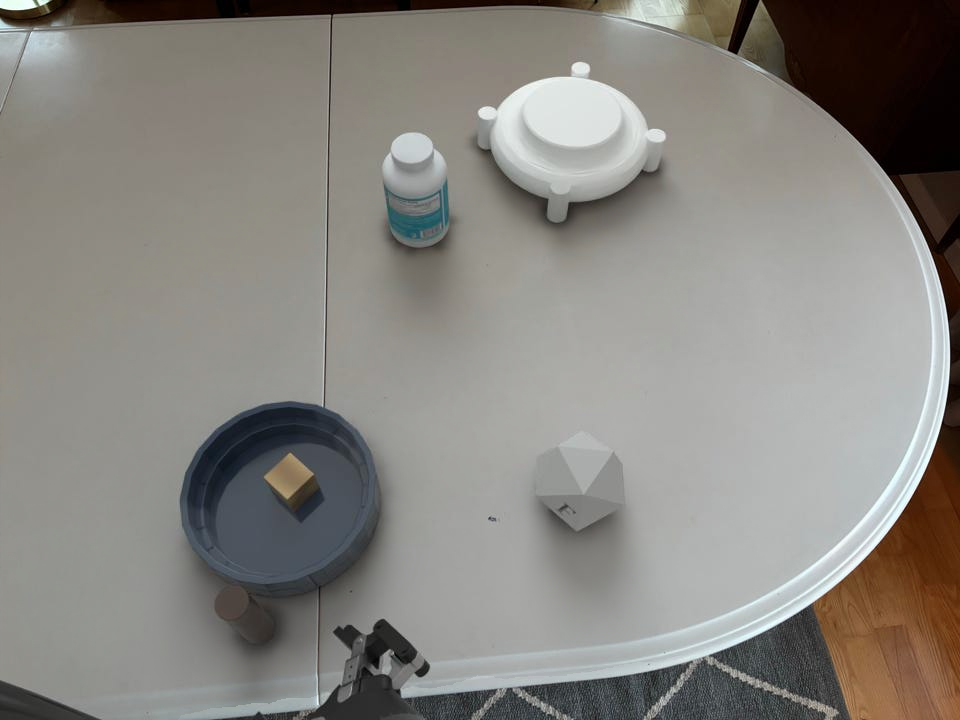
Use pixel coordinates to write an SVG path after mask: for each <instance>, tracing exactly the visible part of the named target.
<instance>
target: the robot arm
mask: <svg viewBox="0 0 960 720" xmlns="http://www.w3.org/2000/svg"><path fill="white" fill-rule="evenodd" d="M332 633H333V635H334V636H335V637H336V638H337V639H338V640H340V641H341V643H342V644H343V645H344V646H345V647H346V648H347V649H348V650H349V651H350V652H351V653H350V654H351V655H350V658H348V659H346V660H345V663H344V669H343V676H342V681H341V684H340V683H339V684H338V685H337V686H336V687H335V688H334V689H333V690H332V692H331V693H330V694H329V696H328V697H327V699H326V700H325V701H324V703H322V704H321V705H320V706H318V707H317V709H315V711H313V713H312V714H311V715H310V716H309V717H308V720H428V719H427V718H425V717H424V716H423V714H421V713H420V712H419V711H417V709H415V708H414V707H413V706H412V705H411V704H410V703H409V702H408V701H406V700H405V699H404V698H403V697H402V691H401V688H402V687H403V686H404V685H405V684H406V683H407V681H409V680H410V678H411V677H413V675H415V676H416V677H417V678H423V677H425V676H427V674H428V673H429V672H430V669H431V664H430V663H429V662H428V661H427V660H426V659H425V657H424V656H423V655H422V654H421V653H420V652H419V651H418V650H417V649H416V647H415V646H413V645H414V644H412V643H411V642H410V641H409V640H408V639H407V638H406V637H405V636H404V635H402V634H401V633H400V632H399V631H398V630H397V629H396V628H395V627H394V626H393V625H392V624H390V623H389V621H388V620H386V619H385V618H381V619H379V620H377V621H376V622H375V623H374V625H373V627H372V632H370V633H368V634H365V633H363V632H361V631H360V630H358V629H357V628H356V627H355V626H354V625H352V624H346V626H345V627H344V628H342V627H341V625H337V627H336V628H335V629H334V630H333V631H332ZM389 650H390V651H389ZM388 651H389V652H388ZM387 652H388V656H389V658H390V662H389V665H390V667H391V669H390V671H389V673H388V674H386V673H383V666H384V658H385V656H384V654H386V653H387ZM251 719H252V720H269V719H268V718H267V717H266V716H265V715H264V714H263V713H262V712H261V711H259V710H258V711H257V712H256V713H255V714H254V715H253V717H252V718H251ZM0 720H102V719H100V718H99V717H96V716H93V715H91V714H89V713H87V712H84V711H82V710H79V709H77V708H74V707H72V706H69V705H67V704H64V703H62V702H59V701H58V700H55V699H52V698H49V697H47V696H44V695H42V694H40V693H37V692H35V691H32V690H29V689H26V688H23V687H21V686H17V685H15V684H12V683H10V682H6V681H4V680H1V679H0Z"/></svg>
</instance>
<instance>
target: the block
mask: <svg viewBox="0 0 960 720" xmlns="http://www.w3.org/2000/svg"><path fill="white" fill-rule="evenodd" d="M263 478H264V479H265V481H266V483H267V484H268V486H269V488H270V489H271V491H272V492H273V493H274V494H275V495H276V496H278V497H279V498H280V499H281V500H282V501H283V502H284V503H285V504H286V505H287V506H288V507H289V508H290V509H291V510H292V511H294V512H295V511H296V510H297V509H298V508H299V507H300V506H301V505H302V504H303V503H304V502H305V501H306V500H307V499H308V498H309V497H310V496H311V495H312V494H314V493H315V492H316V491H317V490H318V489H319V488H320V486H319V484H318V482H317V480H316V478H315V475H314V474H313V473H312V472H311V471H310V470H309V469H308V468H307V467H306V466H304V465H303V464H302V463H301V462H300V461H299V460H298V459H297V458H296V457H295V456H293V455H292V454H291V453H289V454H288V455H287V456H286V457H285V458H284V459H283V460H282V461H280V462H279V463H278V464H277V465H276V466H275V467H274V468H273V469H272V470H271V471H270V472H268V473H267V474H266V475H265V476H264V477H263Z"/></svg>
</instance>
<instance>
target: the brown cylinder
mask: <svg viewBox="0 0 960 720" xmlns="http://www.w3.org/2000/svg"><path fill="white" fill-rule="evenodd" d="M214 611H215V613H216V615H217V616H218V617H219V618H220V619H221V620H222V621H223V622H225V623H226V624H227V625H228V626H230V627H231V628H232V629H233V630H235V632H236V633H238V634H239V635H240V636H241V637H243V639H245V640H247V641H248V642H249V643H250V644H252V645H256V646H259V645H263V644H265V643H268V642H269V641H270V640H271V639H272V637H273V636H274V634H275V630H276V623H275V621H274V619H273V618H272V616H271V615H270V614H269V613H268V612H267V611H266V610H265V609H264V608H263V607H262V606H261V605H260V604H259V603H258V601H256V600H255V598H253V597H252V596H251V594H250V593H247V592H246V591H245V590H244V589H243V588H241V587H239V586H233V585H230V586H227V587H225V588H224V589H222V590H221V591H220V592H219V593H218V595H217V596H216V597H215V601H214Z"/></svg>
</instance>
